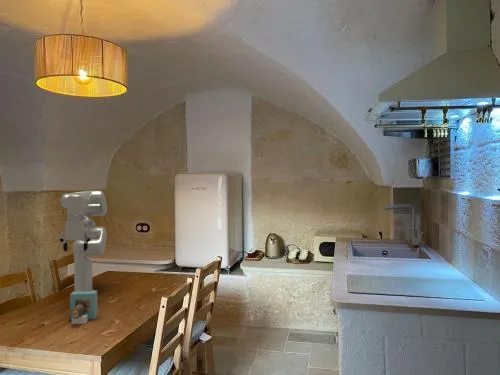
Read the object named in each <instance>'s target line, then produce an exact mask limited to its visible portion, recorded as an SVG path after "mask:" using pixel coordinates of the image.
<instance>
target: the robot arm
mask: <svg viewBox="0 0 500 375" xmlns="http://www.w3.org/2000/svg"><path fill="white" fill-rule="evenodd" d="M106 199H107V198H106V195H105V193H104V192H103V191H102V190H83V191H78V192H77V191H76V192H70V193H69V192H68V193H64V194H63V195H62V196H61V197H60V205H61V206H62V208H64V209H67V221H65V226H64V232H61V233H60V234H58V235H57V238H58V239H59V241H60V243H62V244H63V245H62V248H63V252H67V251H68V249H69V248H68V241H74V242H73V243H72V253H73V259H74V260H73V262H74V267H73V268H74V273H73V274H74V276H73V277H74V291H72V292H75V291H96V290H95V289H93V262H92V260H91V258H90V257H89V256H101V255H103V254H104V253H105V252H106V245H107V244H106V243H107V238H108V237H107V236H108V235H107V233H108V232H107V229H106V227H104V226H102V225H101V226H96V222H95V221H94V219H92V217H97V216H99V217H101V216H105V215H106V214H107V212H108V204H107V200H106ZM63 237H64V238H63Z"/></svg>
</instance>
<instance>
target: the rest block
mask: <svg viewBox="0 0 500 375" xmlns="http://www.w3.org/2000/svg"><path fill="white" fill-rule="evenodd" d="M88 320H89V319H88V315H80V317H79V318H76V319H74V318H72V320H71V324H72V325H83V324H84V325H85V324H87V323H88Z"/></svg>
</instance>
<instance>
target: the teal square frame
mask: <svg viewBox="0 0 500 375" xmlns="http://www.w3.org/2000/svg"><path fill="white" fill-rule="evenodd" d="M74 291H75V290H74ZM83 299H90V305H89V309H86V310H85V311H84V312H83V313H82V314H81V315H88V320H95V319H96V318H97V317H98V290H95V291H75V292H73V291H72V292H71V293H70V294H69V319H70V321H72V317H71V315H70V313H71V311H72V310H73V309H74V308H75V307H76V306H77V305H78V304H79V300H83Z"/></svg>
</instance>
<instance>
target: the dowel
mask: <svg viewBox="0 0 500 375" xmlns="http://www.w3.org/2000/svg"><path fill="white" fill-rule="evenodd" d="M88 307H90V299H81V300H80V301H79V302H78V305H77V306H76V307H75V308H74V309H73V310H72V311H71V313H70V312H69V316H70V315H71V317H72V318H74V319H76V318H79V317H80V315H81V314H82V313H83V312H84V311H85V310H88V309H87V308H88Z"/></svg>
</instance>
